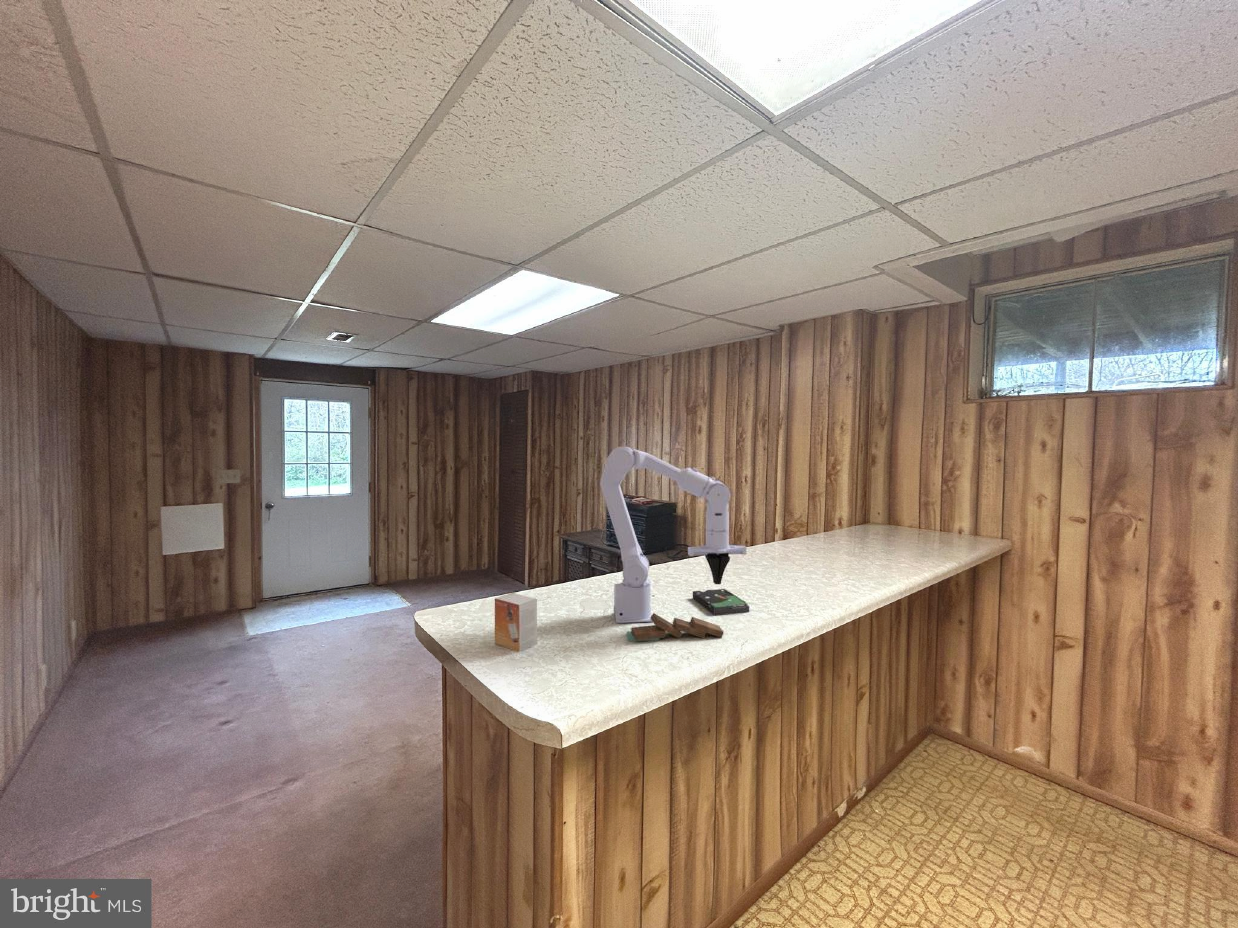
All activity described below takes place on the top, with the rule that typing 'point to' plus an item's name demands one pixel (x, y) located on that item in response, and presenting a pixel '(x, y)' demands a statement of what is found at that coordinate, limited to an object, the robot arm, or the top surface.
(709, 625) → the domino
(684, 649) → the top surface
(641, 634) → the domino
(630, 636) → the teal domino
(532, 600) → the small box
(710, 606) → the disk drive
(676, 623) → the domino
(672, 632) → the domino
